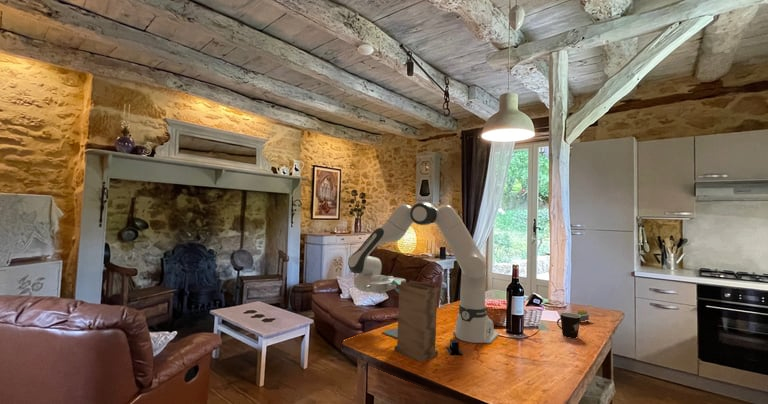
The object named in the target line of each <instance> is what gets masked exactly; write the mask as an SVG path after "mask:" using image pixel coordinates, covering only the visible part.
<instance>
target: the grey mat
mask: <svg viewBox="0 0 768 404" xmlns="http://www.w3.org/2000/svg"><path fill="white" fill-rule="evenodd" d="M381 334H383V335H386V336H389V337H391V338H394V339H396V340H397V335H398V327H397V328H396V327H394V328H391V329H387V330H384V331H382V332H381Z"/></svg>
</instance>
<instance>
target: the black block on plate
mask: <svg viewBox="0 0 768 404" xmlns="http://www.w3.org/2000/svg"><path fill="white" fill-rule="evenodd" d="M445 349H446V351H447V353H448V355H449V356H459V357H460V356H461V357H462V356H464V354H463V352H462V351H461V349H460V343H459V341H458V338H456V339H453V338H452V339H451V338H450V339H449V345H448V346H447V345H446V346H445Z"/></svg>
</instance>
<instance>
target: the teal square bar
mask: <svg viewBox="0 0 768 404" xmlns="http://www.w3.org/2000/svg"><path fill="white" fill-rule="evenodd" d="M391 284H397V285H399V284H401V281H400V280H399V279H394V280H393V281H392V283H391ZM394 290H395V292H397V293H398V294H399V289H397V288H396V289H394Z"/></svg>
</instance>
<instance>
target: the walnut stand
mask: <svg viewBox="0 0 768 404" xmlns="http://www.w3.org/2000/svg"><path fill="white" fill-rule="evenodd" d="M397 289H399V293H398V311H397V313H398V315H397V329H398V335H397V339H396V340H397V341H396V345H395V346H394V350H393V352H395V353H398V354H399V355H403V356H404V357H405V356H406V357H408V358H410V359H413V360H416V361H417V362H421V363H423V362H426V361H428V360H430V359H433V358H435V357H437V356H438V355H439V354H438V352H439V351H438V349H437V348H436V339H437V337H436V336H437V309H438V308H437V305H438V304H437V303H438V293H440V290H441V289H440V287H439V286H437V285H434V284H430V283H425V282H419V281H415V280H409V282H407V281H406V282H401V284H399V285H397Z"/></svg>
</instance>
